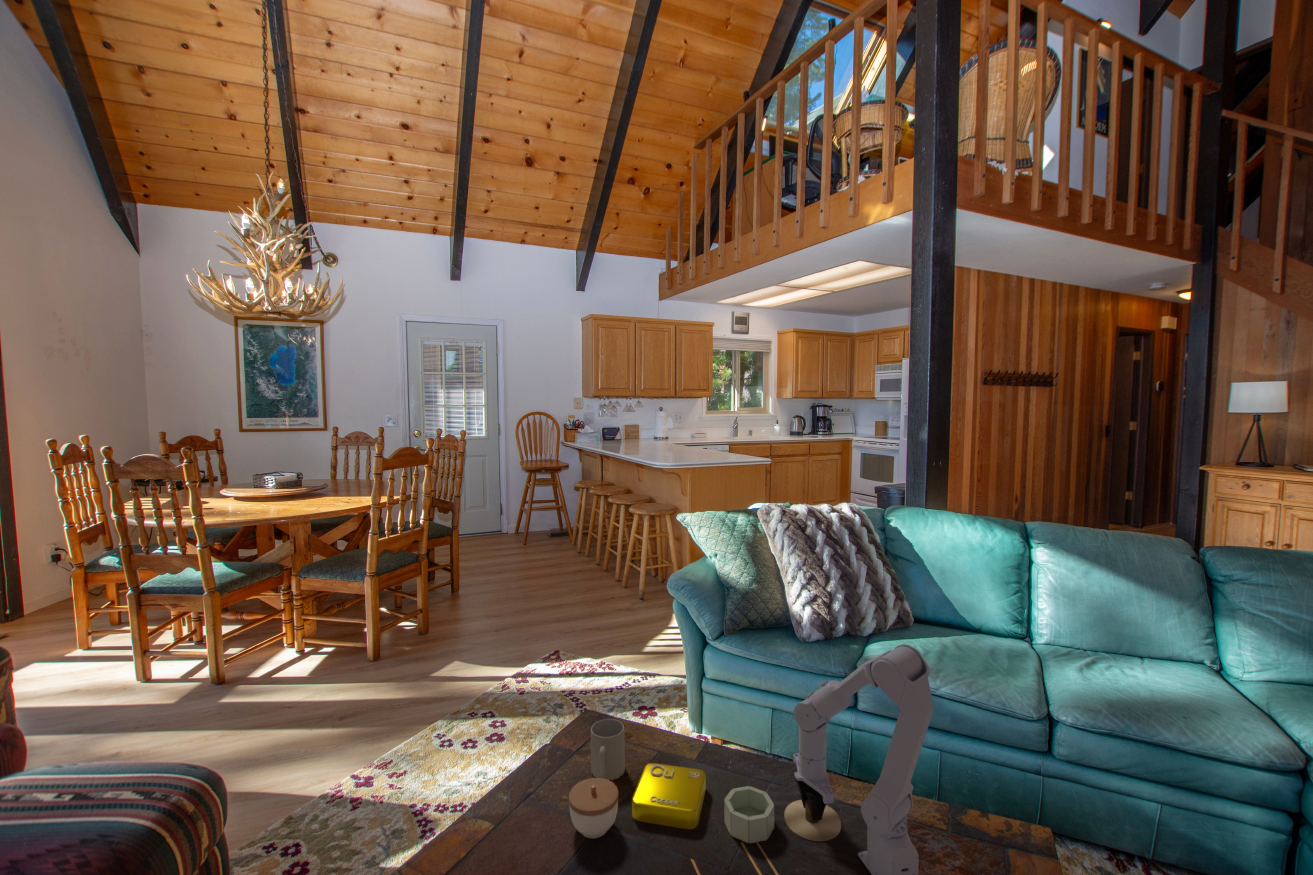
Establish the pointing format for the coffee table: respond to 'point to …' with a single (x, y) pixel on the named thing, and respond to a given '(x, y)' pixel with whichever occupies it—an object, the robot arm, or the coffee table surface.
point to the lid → (812, 822)
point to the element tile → (669, 796)
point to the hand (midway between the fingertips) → (812, 812)
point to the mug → (607, 749)
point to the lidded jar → (593, 806)
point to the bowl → (749, 814)
